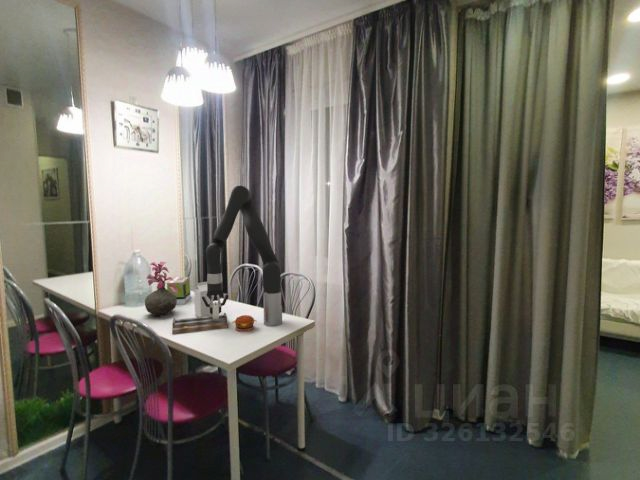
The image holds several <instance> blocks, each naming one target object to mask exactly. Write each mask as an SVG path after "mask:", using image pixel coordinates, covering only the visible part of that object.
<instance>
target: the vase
mask: <svg viewBox="0 0 640 480" xmlns="http://www.w3.org/2000/svg"><path fill="white" fill-rule="evenodd" d="M166 263H167V262H166V261H165V262H164V261H160V262H159V263H156V262H155V261H153V262H151V263H149V264H150V265H151V266H153V267H151V271H152V272H154V275H152V274H151V273H149V274H147V277H146V279H147V280H148V281H147V284H148V285H149V286H151V285H152V284H153V283H157V285H156V290H155V291H152V292H151V293H149V294H148V295H147V296H146V297H145V299H144V304H145V305H144V306H145V310H146V311H147V312H148V313H150V314H151V315H154V316H155V317H164V316H167V315H169V314H170V313H171V312H172V311H174V310H175V309H176V306H177V305H176V304H177V298H176V296H175V294H174V293H173V292H176V293H178V289H177V288H176V287H175V286H173V285H169V286H170V288H171V289H172V291H173V292H171V291H169V290H167V288H166V281H170V280H173V278H172V277H171V276H170V277H169V276H168V275H167V273H166V272H168V273H170V271H169V269H168V267H166V266H164V265H165V264H166ZM161 272H162V273H163V274H161ZM167 276H168V277H167ZM173 281H174V280H173Z"/></svg>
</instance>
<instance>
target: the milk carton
mask: <svg viewBox="0 0 640 480" xmlns="http://www.w3.org/2000/svg"><path fill="white" fill-rule="evenodd" d="M193 291H194V295H193V296H194V315H195V316H197V317H205V316H212V315H211V314H210V308H209V307H206V305H205V303H204V301H203V299H202V296H204V295H206V294H207V281H204V282H197V283H196V286H195V288H194V290H193ZM206 301H207V303H208V304H210V299H209V298H208V297H207V299H206Z"/></svg>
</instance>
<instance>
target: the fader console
mask: <svg viewBox="0 0 640 480" xmlns="http://www.w3.org/2000/svg"><path fill="white" fill-rule="evenodd" d="M171 325H172V328H171V329H172V330H171V331H172V332H171V333H172V335H176V334H183V333H185V334H186V333H194V332H202V331H212V330H219V329H228V328H229V323H228V315H227V313H226V312H223V314H219V319H213V315H210V316H205V317H199V316H197V317H196V316H195V317H188V318H177V319H176V317H173V318H172V324H171Z"/></svg>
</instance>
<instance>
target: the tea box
mask: <svg viewBox="0 0 640 480" xmlns="http://www.w3.org/2000/svg"><path fill="white" fill-rule="evenodd" d="M172 279H173V280H174V281H173V280H168V282H166V289H167V290H169V291H171V292H173V291H172V289H171V288H170V286H169V285H173V286H175V287H176V288H177V289H178V293H176V292H173V293H174V294H175V296H176V298H177V304H176V306H183V305H185V304H186V303H187V302H188V301H189V300H190V299H191V298H192V297H191V281H190V276H181V277H180V276H178V277H176V276H174V277H173V278H172Z"/></svg>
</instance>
